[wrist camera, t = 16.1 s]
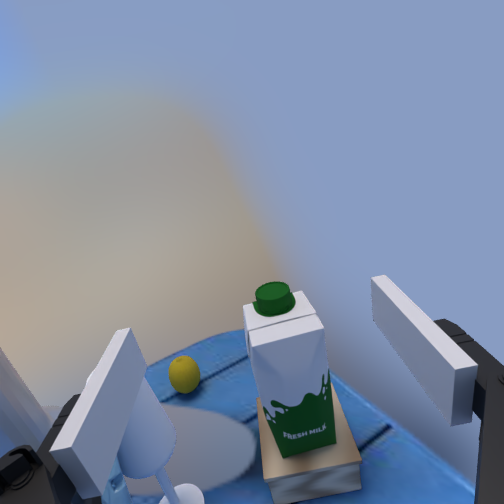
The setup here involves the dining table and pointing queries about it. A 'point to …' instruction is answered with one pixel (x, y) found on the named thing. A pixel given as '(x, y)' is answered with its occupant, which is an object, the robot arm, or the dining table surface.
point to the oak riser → (311, 463)
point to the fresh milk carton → (290, 368)
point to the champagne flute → (152, 447)
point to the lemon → (184, 374)
